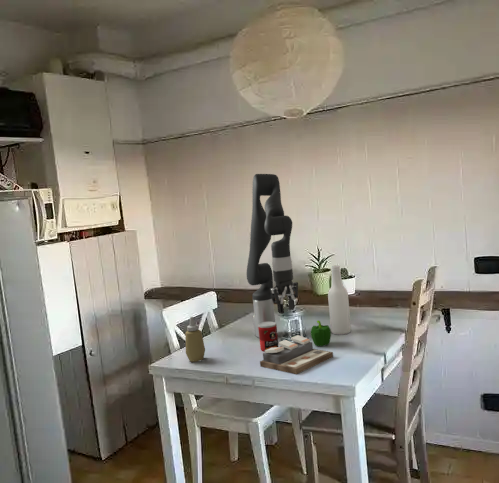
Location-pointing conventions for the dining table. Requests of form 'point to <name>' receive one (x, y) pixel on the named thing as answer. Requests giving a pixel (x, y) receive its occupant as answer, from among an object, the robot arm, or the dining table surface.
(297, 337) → the rocker
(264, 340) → the canned food
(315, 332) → the bell pepper
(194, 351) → the squeeze bottle
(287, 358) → the switch box
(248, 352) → the dining table surface
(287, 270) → the robot arm
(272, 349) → the rocker
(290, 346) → the rocker
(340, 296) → the alcohol
